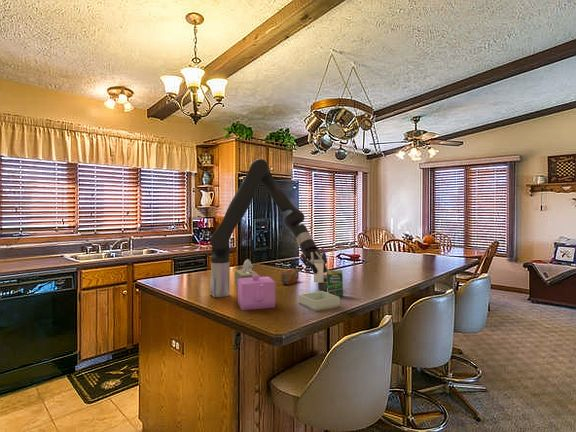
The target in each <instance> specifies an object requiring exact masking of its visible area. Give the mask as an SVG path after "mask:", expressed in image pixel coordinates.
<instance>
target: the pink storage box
mask: <svg viewBox="0 0 576 432" xmlns="http://www.w3.org/2000/svg"><path fill="white" fill-rule="evenodd" d="M237 304H238V305H239V307H240V309H241V310H242V311H247V310H248V311H250V310H259V309H271V308H276V281H274V279H272V278H271V277H269V276H261V275H252V278H238V286H237Z"/></svg>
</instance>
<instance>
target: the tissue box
mask: <svg viewBox="0 0 576 432" xmlns="http://www.w3.org/2000/svg"><path fill="white" fill-rule="evenodd" d="M253 267H254V265H253V264H252V262H251V260H250V259H249V258H247V259H246V260H244V262H243V265H242V269H234V284H235V285H236V286H237V287H238V278H252V275H259V273H257V272H256V271H254V270H252V269H253Z"/></svg>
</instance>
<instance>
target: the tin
mask: <svg viewBox="0 0 576 432" xmlns="http://www.w3.org/2000/svg"><path fill="white" fill-rule="evenodd" d="M298 280H299V270H298V269H297V268H289V269H284V270H282V271H281V273H280V281H281V284H283V285H291V284H294V283H296V282H297V281H298Z"/></svg>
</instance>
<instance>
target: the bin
mask: <svg viewBox="0 0 576 432" xmlns="http://www.w3.org/2000/svg"><path fill="white" fill-rule="evenodd" d="M297 298H298V299H297V301H298V305H300V306H302V307H304V308H306V309H308V310H310V311H313V312H318V311H320V312H321V311H323V310H324V311H325V310H330V309H335V308H339V307H341V306H340V304H341V303H340V302H341V301H340V299H341V296H340V297H339V296H335V295H332V294H329V293H327V292H324V291H319V290H318V291H314V292H313V291H311V292H306V293H299V294H298V297H297Z"/></svg>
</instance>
